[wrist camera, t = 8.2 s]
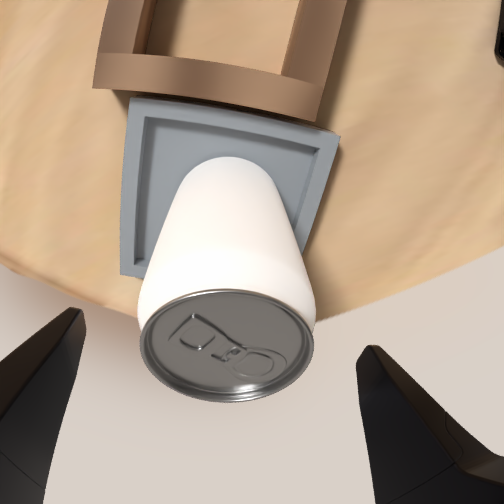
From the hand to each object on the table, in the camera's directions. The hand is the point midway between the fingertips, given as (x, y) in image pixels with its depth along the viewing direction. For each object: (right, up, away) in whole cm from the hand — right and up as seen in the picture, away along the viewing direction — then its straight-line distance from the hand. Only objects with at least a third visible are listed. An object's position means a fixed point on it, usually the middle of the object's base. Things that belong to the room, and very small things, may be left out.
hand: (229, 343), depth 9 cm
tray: (-1, +6, +11) cm, 13 cm away
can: (-1, +6, +11) cm, 12 cm away
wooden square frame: (-1, +17, +5) cm, 17 cm away
